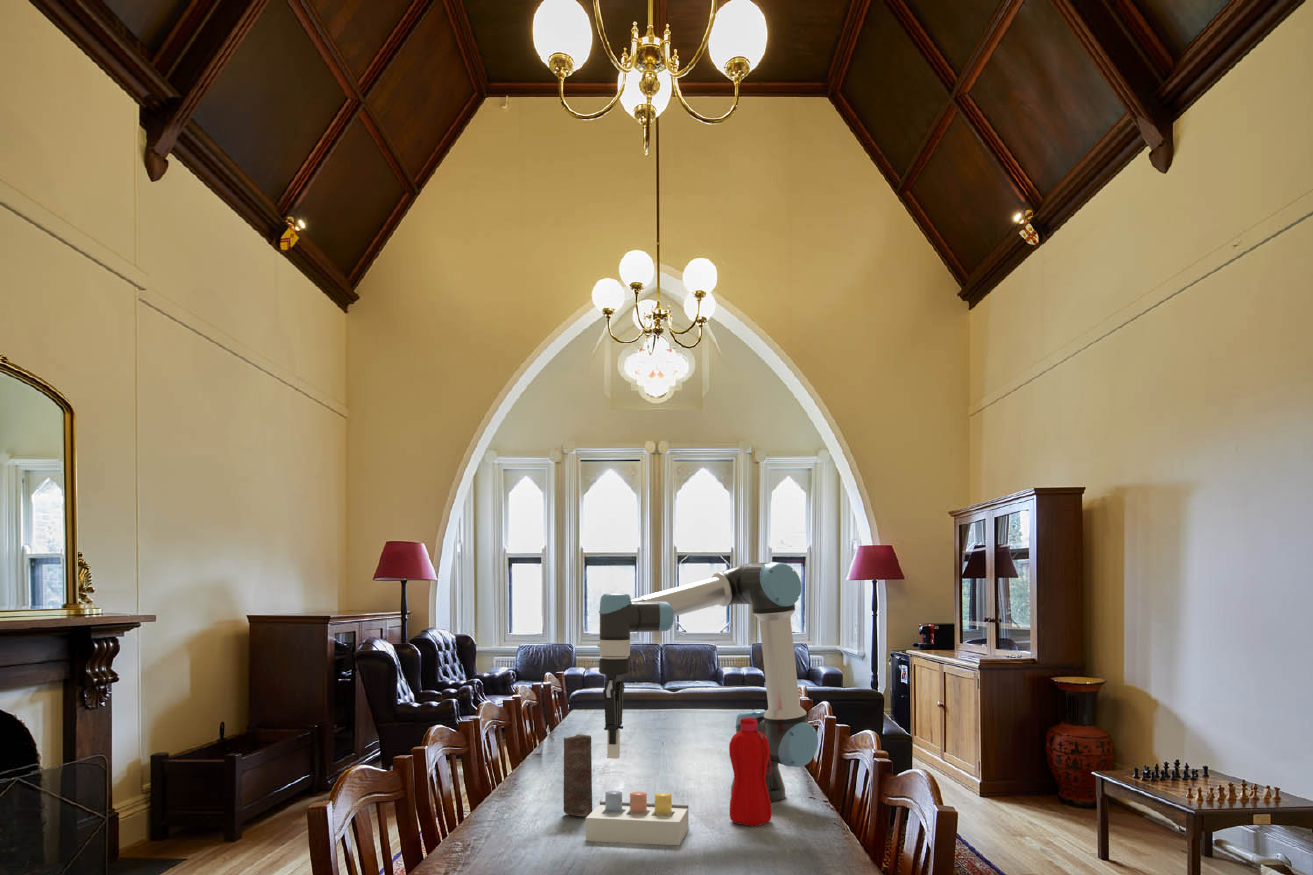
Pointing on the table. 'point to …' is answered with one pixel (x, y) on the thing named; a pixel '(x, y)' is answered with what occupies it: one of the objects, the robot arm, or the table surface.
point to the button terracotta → (638, 802)
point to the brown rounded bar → (578, 775)
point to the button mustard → (663, 803)
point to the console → (638, 825)
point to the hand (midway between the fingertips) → (613, 757)
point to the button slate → (613, 801)
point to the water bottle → (750, 775)
